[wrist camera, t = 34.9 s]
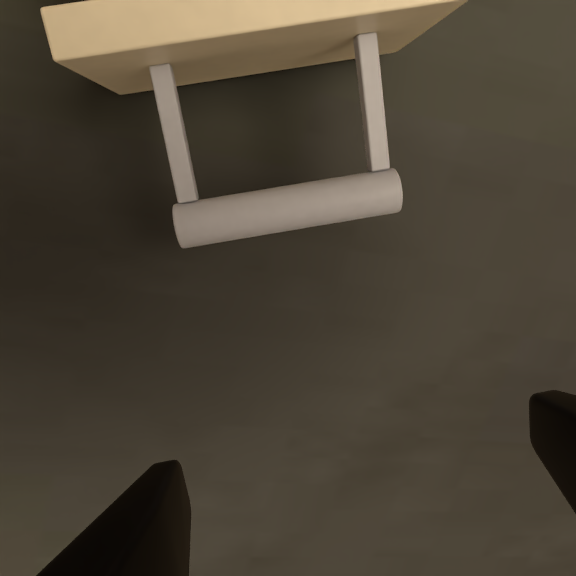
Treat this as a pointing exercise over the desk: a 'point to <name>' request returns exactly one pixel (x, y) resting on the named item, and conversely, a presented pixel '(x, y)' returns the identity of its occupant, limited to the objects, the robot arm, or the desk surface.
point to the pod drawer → (240, 62)
